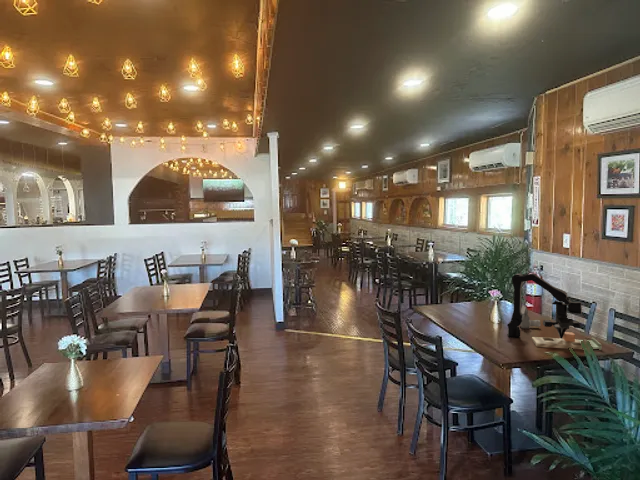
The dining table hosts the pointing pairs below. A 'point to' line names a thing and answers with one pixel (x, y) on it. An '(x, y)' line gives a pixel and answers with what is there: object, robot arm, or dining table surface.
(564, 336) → the orange block
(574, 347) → the trap board
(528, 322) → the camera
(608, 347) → the dining table surface
